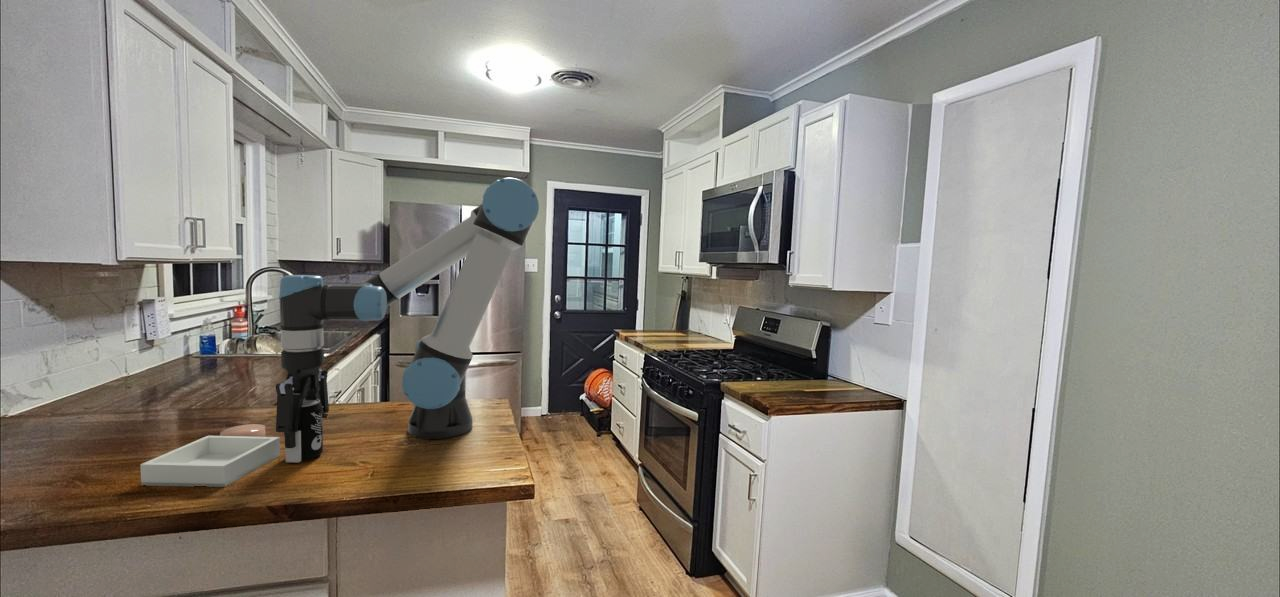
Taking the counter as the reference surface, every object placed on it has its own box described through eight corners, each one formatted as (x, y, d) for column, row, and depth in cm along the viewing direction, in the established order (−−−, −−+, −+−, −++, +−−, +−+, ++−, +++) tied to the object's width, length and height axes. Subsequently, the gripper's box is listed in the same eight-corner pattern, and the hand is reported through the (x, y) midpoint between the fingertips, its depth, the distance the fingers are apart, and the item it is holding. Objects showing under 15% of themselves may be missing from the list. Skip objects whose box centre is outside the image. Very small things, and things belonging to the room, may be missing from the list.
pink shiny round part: (273, 437, 118) (273, 424, 118) (248, 450, 110) (248, 436, 110) (238, 436, 118) (238, 423, 118) (210, 449, 110) (210, 435, 110)
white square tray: (280, 455, 108) (279, 437, 108) (224, 487, 93) (224, 466, 93) (208, 453, 108) (207, 435, 107) (141, 485, 93) (140, 464, 92)
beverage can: (304, 464, 104) (303, 407, 103) (278, 461, 105) (276, 404, 104) (330, 452, 110) (329, 399, 109) (304, 449, 112) (303, 396, 111)
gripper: (313, 340, 115) (314, 438, 117) (249, 357, 96) (253, 473, 98) (346, 341, 116) (347, 438, 117) (290, 358, 96) (292, 474, 98)
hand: (304, 454), depth 108 cm, fingers closed on beverage can, 7 cm apart
